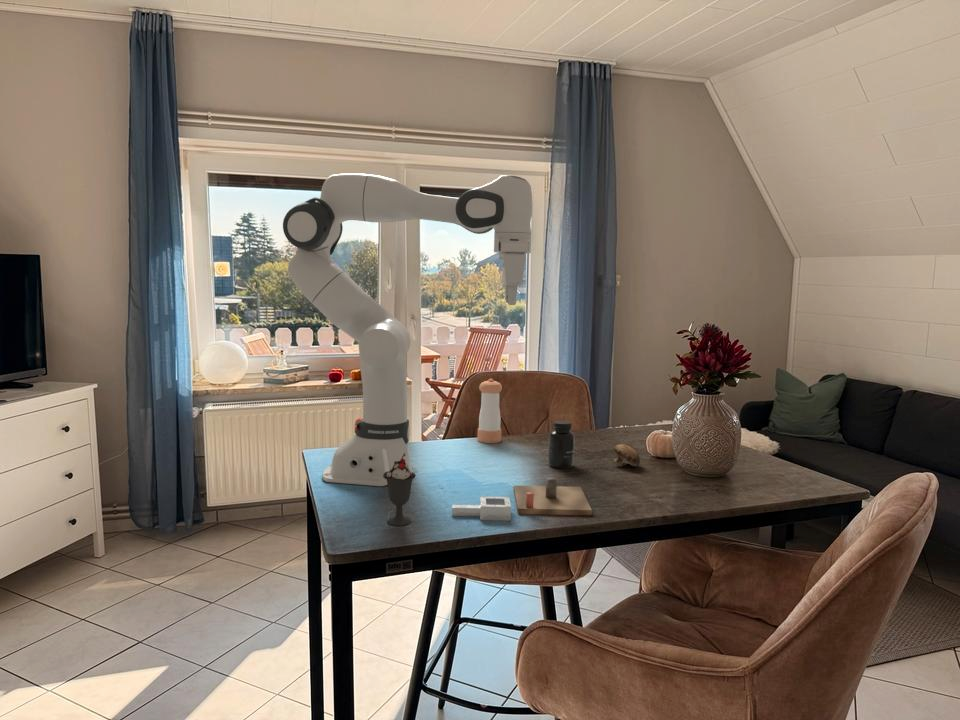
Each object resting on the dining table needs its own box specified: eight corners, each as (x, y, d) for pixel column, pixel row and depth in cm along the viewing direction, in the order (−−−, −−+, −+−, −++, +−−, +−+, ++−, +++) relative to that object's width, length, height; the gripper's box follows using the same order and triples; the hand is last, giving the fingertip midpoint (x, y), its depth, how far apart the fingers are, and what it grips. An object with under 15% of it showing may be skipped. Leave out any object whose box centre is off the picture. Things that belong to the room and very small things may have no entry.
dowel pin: (526, 507, 152) (526, 494, 151) (525, 505, 153) (526, 492, 153) (533, 508, 152) (534, 494, 151) (532, 505, 153) (533, 492, 153)
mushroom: (605, 456, 187) (619, 437, 188) (606, 460, 195) (619, 442, 195) (631, 474, 185) (644, 454, 185) (631, 477, 192) (644, 458, 193)
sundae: (406, 529, 141) (407, 457, 139) (377, 524, 143) (377, 453, 141) (421, 519, 147) (421, 449, 145) (392, 514, 149) (393, 445, 147)
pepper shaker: (500, 437, 218) (501, 376, 216) (502, 443, 211) (503, 380, 209) (476, 437, 218) (478, 376, 215) (478, 443, 211) (479, 380, 208)
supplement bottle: (572, 470, 185) (574, 425, 183) (546, 468, 186) (548, 424, 185) (574, 463, 192) (576, 420, 190) (549, 461, 193) (550, 418, 191)
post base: (517, 513, 151) (518, 489, 150) (513, 490, 167) (514, 468, 166) (591, 515, 151) (592, 490, 151) (580, 491, 167) (581, 469, 166)
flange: (509, 510, 153) (509, 497, 153) (510, 520, 147) (511, 507, 147) (452, 509, 153) (452, 495, 153) (451, 519, 147) (452, 505, 146)
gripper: (497, 246, 177) (495, 301, 178) (501, 244, 156) (499, 305, 158) (522, 247, 177) (520, 302, 179) (529, 244, 156) (527, 306, 158)
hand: (510, 303), depth 168 cm, fingers open, 8 cm apart
